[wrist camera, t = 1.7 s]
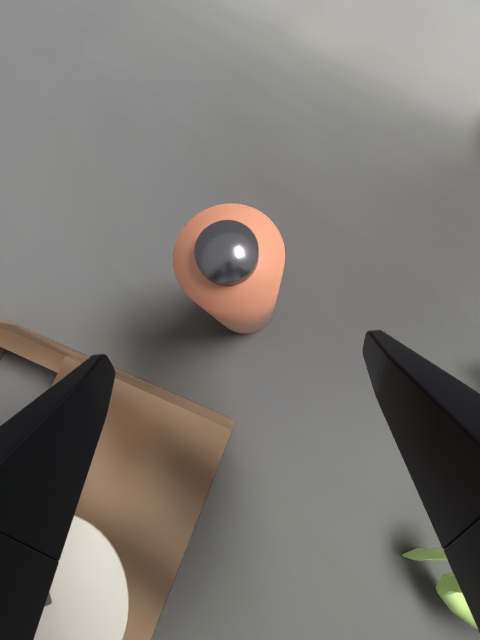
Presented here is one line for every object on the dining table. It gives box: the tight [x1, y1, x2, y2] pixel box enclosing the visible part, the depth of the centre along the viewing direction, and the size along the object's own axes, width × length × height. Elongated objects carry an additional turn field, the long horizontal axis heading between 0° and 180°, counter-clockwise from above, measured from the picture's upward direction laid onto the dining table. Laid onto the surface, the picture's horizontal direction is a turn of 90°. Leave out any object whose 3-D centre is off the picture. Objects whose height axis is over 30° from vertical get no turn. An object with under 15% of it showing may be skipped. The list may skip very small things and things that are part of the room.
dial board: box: [0, 319, 236, 640], centre depth 19 cm, size 20×20×3 cm
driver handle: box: [173, 204, 285, 334], centre depth 15 cm, size 4×4×11 cm
